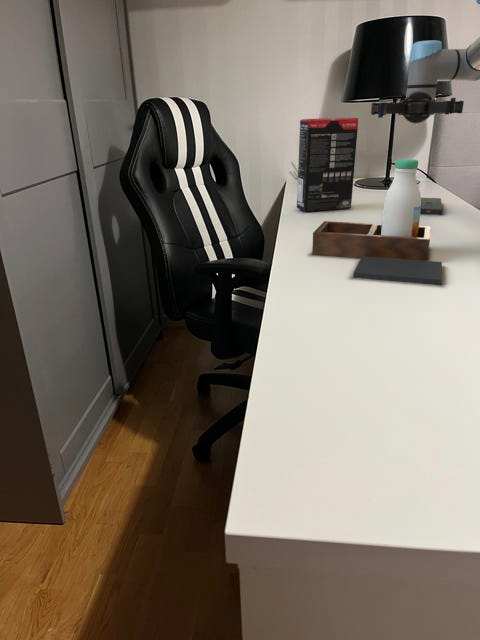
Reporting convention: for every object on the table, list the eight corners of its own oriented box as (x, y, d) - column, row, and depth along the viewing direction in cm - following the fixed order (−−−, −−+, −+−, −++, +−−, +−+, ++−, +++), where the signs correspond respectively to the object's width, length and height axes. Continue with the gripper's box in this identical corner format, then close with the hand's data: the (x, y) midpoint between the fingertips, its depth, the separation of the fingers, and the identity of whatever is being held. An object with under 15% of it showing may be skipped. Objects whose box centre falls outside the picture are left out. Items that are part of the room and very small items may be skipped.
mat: (441, 266, 102) (441, 261, 102) (441, 285, 92) (442, 279, 91) (361, 260, 107) (362, 256, 107) (353, 277, 97) (353, 272, 97)
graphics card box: (343, 205, 166) (347, 117, 156) (353, 208, 160) (359, 117, 150) (295, 209, 161) (297, 118, 151) (305, 213, 155) (307, 119, 145)
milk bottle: (400, 259, 107) (410, 162, 99) (372, 252, 113) (379, 160, 105) (422, 253, 111) (434, 159, 103) (394, 246, 117) (403, 157, 109)
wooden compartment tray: (428, 248, 115) (430, 226, 113) (426, 263, 105) (430, 239, 103) (323, 241, 123) (324, 221, 121) (312, 254, 112) (312, 232, 111)
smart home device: (413, 207, 151) (415, 196, 168) (412, 213, 151) (414, 202, 169) (442, 208, 148) (441, 197, 165) (442, 214, 149) (440, 203, 166)
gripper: (468, 122, 125) (473, 126, 107) (367, 123, 133) (355, 127, 115) (473, 89, 122) (479, 87, 104) (369, 92, 130) (357, 91, 112)
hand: (414, 108), depth 109 cm, fingers open, 13 cm apart
